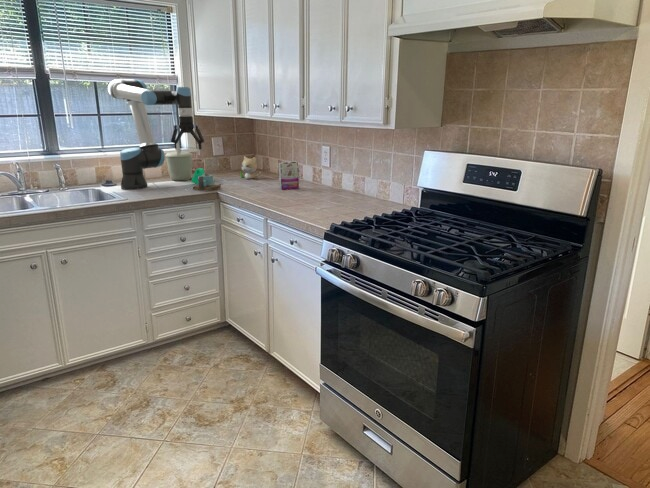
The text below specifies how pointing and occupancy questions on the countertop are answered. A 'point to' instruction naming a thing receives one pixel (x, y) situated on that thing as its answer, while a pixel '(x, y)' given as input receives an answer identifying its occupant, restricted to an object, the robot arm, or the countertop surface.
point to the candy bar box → (288, 175)
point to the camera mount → (197, 173)
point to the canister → (179, 165)
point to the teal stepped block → (205, 180)
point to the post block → (208, 188)
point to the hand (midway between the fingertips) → (188, 155)
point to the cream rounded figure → (249, 168)
